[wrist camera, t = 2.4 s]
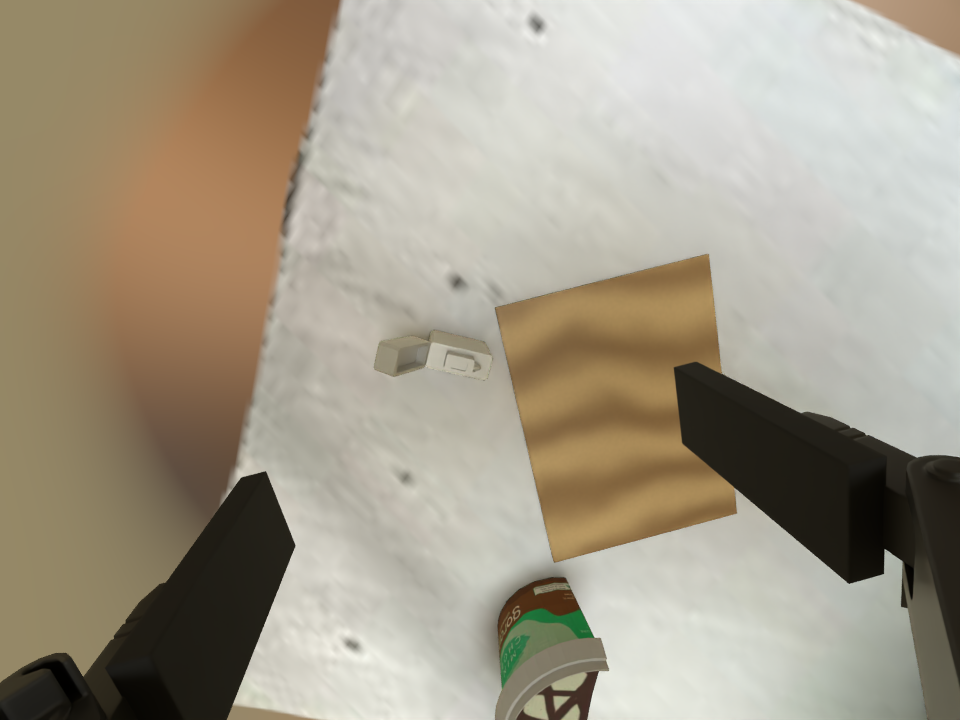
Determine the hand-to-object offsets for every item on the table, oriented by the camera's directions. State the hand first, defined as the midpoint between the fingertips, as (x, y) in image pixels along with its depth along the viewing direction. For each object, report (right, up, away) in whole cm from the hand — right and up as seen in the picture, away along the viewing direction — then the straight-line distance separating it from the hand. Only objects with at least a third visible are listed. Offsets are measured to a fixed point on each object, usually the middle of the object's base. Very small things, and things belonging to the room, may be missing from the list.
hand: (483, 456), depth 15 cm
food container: (+3, -19, +27) cm, 33 cm away
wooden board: (+11, -1, +23) cm, 25 cm away
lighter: (-3, +4, +20) cm, 21 cm away
